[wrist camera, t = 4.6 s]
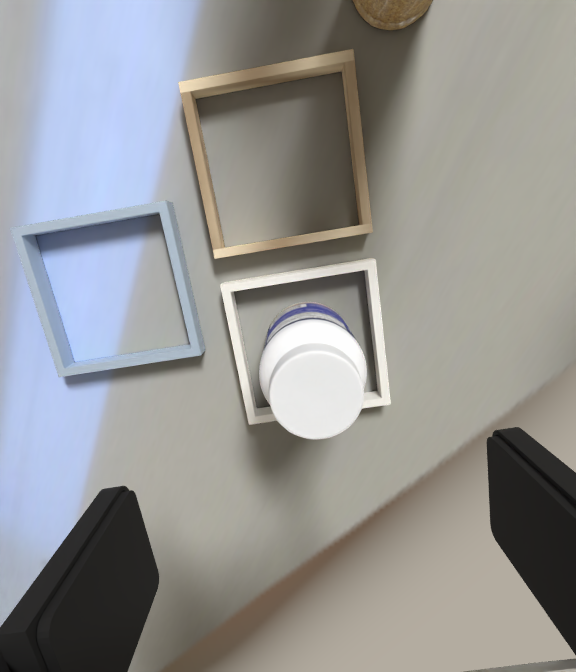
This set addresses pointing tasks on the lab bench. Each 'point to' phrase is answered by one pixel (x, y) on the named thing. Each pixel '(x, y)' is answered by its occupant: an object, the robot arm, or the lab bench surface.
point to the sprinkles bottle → (391, 12)
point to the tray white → (367, 265)
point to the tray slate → (48, 306)
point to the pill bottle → (312, 371)
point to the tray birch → (263, 78)
